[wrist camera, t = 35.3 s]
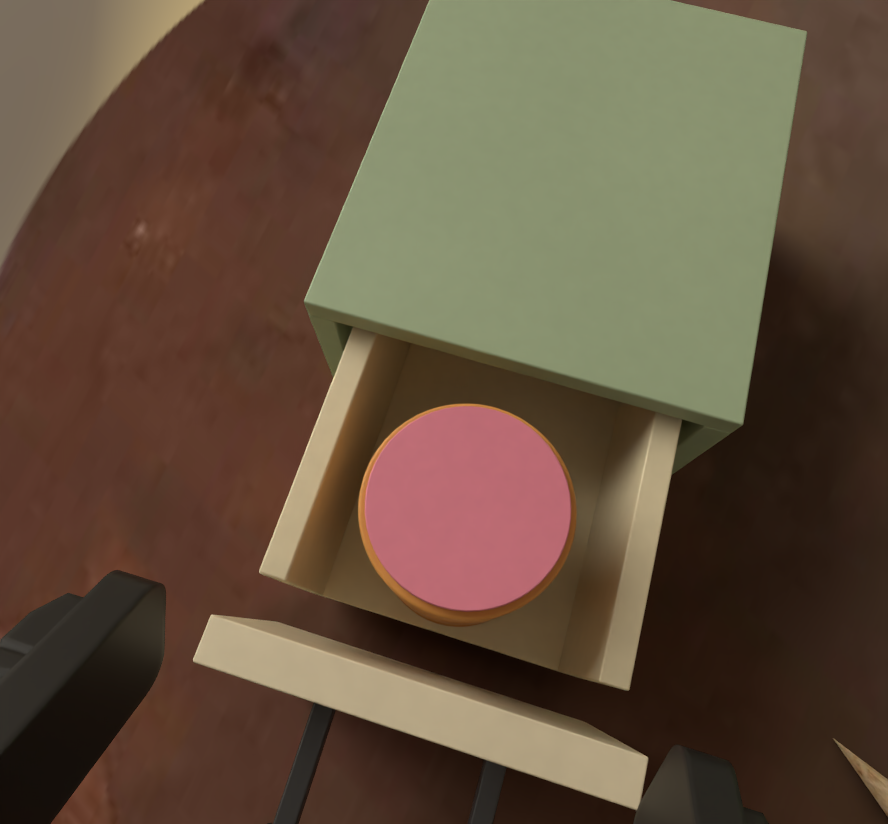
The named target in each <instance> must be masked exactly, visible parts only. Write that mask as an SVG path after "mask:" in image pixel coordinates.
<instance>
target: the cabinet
mask: <svg viewBox="0 0 888 824" xmlns="http://www.w3.org/2000/svg"><path fill="white" fill-rule="evenodd" d="M806 37H807V32H806V31H802V30H798V29H794V28H789V27H785V26H780V25H776V24H772V23H767V22H763V21H758V20H754V19H750V18H745V17H741V16H737V15H732V14H728V13H723V12H719V11H715V10H710V9H706V8H701V7H697V6H693V5H688V4H684V3H680V2H675V1H671V0H429V3H428V5H427V8H426V10H425V12H424V15H423V17H422V20H421V22H420V24H419V27H418V29H417V31H416V34H415V36H414V39H413V41H412V43H411V46H410V48H409V51H408V53H407V55H406V58H405V60H404V63H403V65H402V67H401V70H400V72H399V75H398V77H397V79H396V82H395V84H394V87H393V89H392V91H391V94H390V96H389V99H388V101H387V103H386V106H385V108H384V111H383V113H382V115H381V118H380V120H379V122H378V125H377V127H376V130H375V132H374V134H373V137H372V139H371V142H370V144H369V146H368V149H367V151H366V154H365V156H364V158H363V161H362V163H361V166H360V168H359V170H358V173H357V175H356V178H355V180H354V182H353V185H352V187H351V190H350V192H349V194H348V197H347V199H346V202H345V204H344V206H343V209H342V211H341V213H340V216H339V218H338V221H337V223H336V225H335V228H334V230H333V233H332V235H331V237H330V240H329V242H328V245H327V247H326V249H325V252H324V254H323V257H322V259H321V261H320V264H319V266H318V269H317V271H316V273H315V276H314V278H313V281H312V283H311V285H310V288H309V290H308V293H307V295H306V297H305V300H304V304H305V306H306V309H307V311H308V313H309V317H310V320H311V322H312V325H313V327H314V330H315V332H316V335H317V337H318V340H319V342H320V345H321V347H322V350H323V352H324V355H325V358H326V360H327V363H328V365H329V368H330V370H331V373H332V375H333V378H334V375H335V372H336V370H337V367H338V365H339V362H340V360H341V357H342V354H343V352H344V349H345V347H346V344H347V341H348V339H349V336H350V334H351V331H352V328H353V327H356V328H360V329H363V330H367V331H370V332H374V333H378V334H381V335H385V336H388V337H392V338H395V339H399V340H402V341H406V342H409V343H413V344H417V345H420V346H424V347H427V348H431V349H434V350H438V351H441V352H445V353H448V354H452V355H456V356H459V357H463V358H466V359H470V360H473V361H477V362H480V363H484V364H488V365H491V366H495V367H498V368H502V369H505V370H509V371H512V372H516V373H519V374H523V375H527V376H530V377H534V378H537V379H541V380H544V381H548V382H551V383H555V384H558V385H562V386H566V387H569V388H573V389H576V390H580V391H583V392H587V393H590V394H594V395H598V396H601V397H605V398H608V399H612V400H615V401H619V402H622V403H626V404H629V405H633V406H637V407H640V408H644V409H647V410H651V411H654V412H658V413H661V414H665V415H668V416H672V417H676V418H679V419H682V423H681V428H680V434H679V439H678V444H677V449H676V454H675V459H674V464H673V469H672V474H674V473H675V472H676V471H678V470H679V469H681V468H682V467H684V466H685V465H686V464H688V463H689V462H691V461H692V460H694V459H695V458H696V457H698V456H699V455H701V454H702V453H704V452H705V451H706V450H708V449H709V448H711V447H712V446H714V445H715V444H716V443H718V442H719V441H721V440H722V439H723V438H725V437H726V436H728V435H729V434H730V433H732V432H734V431H735V430H736V429H738V428H739V427H741V426H742V425H743V423H744V417H745V410H746V404H747V398H748V392H749V386H750V380H751V374H752V368H753V362H754V355H755V349H756V343H757V337H758V331H759V325H760V319H761V313H762V306H763V300H764V294H765V288H766V282H767V276H768V270H769V264H770V258H771V251H772V245H773V239H774V233H775V227H776V221H777V215H778V209H779V202H780V196H781V190H782V184H783V178H784V172H785V166H786V160H787V154H788V147H789V141H790V135H791V129H792V123H793V117H794V111H795V105H796V98H797V92H798V86H799V80H800V74H801V68H802V62H803V56H804V50H805V43H806Z"/></svg>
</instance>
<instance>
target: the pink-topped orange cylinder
mask: <svg viewBox="0 0 888 824" xmlns="http://www.w3.org/2000/svg"><path fill="white" fill-rule="evenodd" d="M576 517H577V508H576V498H575V492H574V488H573V484H572V480H571V478H570V475H569V473H568V470H567V468H566V466H565V464H564V462H563V460H562V458H561V456H560V455H559V454H558V452H557V451H556V449H555V448H554V446H553V445H552V444H551V443H550V442H549V441H548V440H547V438H546V437H545V436H544V435H543V434H542V433H540V432H539V431H538V430H537V429H536V428H535V427H533V426H532V425H531V424H529V423H528V422H526V421H525V420H523V419H522V418H520V417H518V416H516V415H514V414H512V413H510V412H507V411H504V410H501V409H498V408H495V407H491V406H486V405H480V404H452V405H446V406H441V407H437V408H434V409H430V410H428V411H425V412H423V413H421V414H418V415H416V416H414V417H413V418H411V419H409V420H408V421H406V422H404V423H403V424H402V425H400V426H399V427H398V428H397V429H395V430H394V431H393V432H392V433H391V434H390V435H389V436H388V437H387V438H386V439H385V440H384V441H383V443H382V444H381V445H380V447H379V448H378V449H377V450H376V452H375V454H374V455H373V457H372V459H371V461H370V462H369V465H368V467H367V469H366V472H365V474H364V477H363V480H362V484H361V488H360V494H359V501H358V520H359V528H360V534H361V537H362V541H363V545H364V548H365V550H366V552H367V555H368V557H369V559H370V561H371V563H372V565H373V566H374V568H375V570H376V572H377V573H378V574H379V575H380V577H381V578H382V579H383V581H384V582H385V583H386V584H387V585H388V587H389V588H390V589H391V590H392V591H393V592H394V593H395V594H396V595H397V596H398V598H399V599H400V600H401V601H402V602H403V603H404V604H405V605H406V606H407V607H408V608H409V609H411V610H412V611H413V612H415V613H416V614H417V615H419V616H421V617H423V618H424V619H426V620H429V621H431V622H434V623H436V624H440V625H445V626H453V627H466V626H472V625H477V624H480V623H484V622H487V621H489V620H492V619H495V618H497V617H500V616H503V615H506V614H508V613H511V612H513V611H515V610H517V609H519V608H521V607H523V606H525V605H526V604H528V603H529V602H531V601H532V600H534V599H535V598H536V597H537V596H538V595H540V594H541V593H542V592H543V591H544V590H545V589H546V588H547V587H548V586H549V585H550V584H551V582H552V581H553V580H554V579H555V578H556V576H557V575H558V573H559V572H560V570H561V568H562V567H563V565H564V563H565V561H566V559H567V557H568V555H569V552H570V549H571V546H572V543H573V540H574V535H575V529H576Z"/></svg>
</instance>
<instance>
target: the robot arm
mask: <svg viewBox="0 0 888 824" xmlns="http://www.w3.org/2000/svg"><path fill="white" fill-rule="evenodd" d="M165 608H166V590H165V587H164V585H163V584H161V583H158V582H155V581H152V580H148V579H145V578H142V577H139V576H136V575H133V574H129V573H126V572H123V571H120V570H115V571H112V572H110V573H109V574H107V575H106V576H105V577H104V578H103V579H102V580H101V581H100V582H99V583H98V584H97V585H96V586H95V587H94V588H93V589H92V590H91V591H90V592H89V593H88V594H87V595H86V596H85V597H84V598H83V597H80V596H77V595H73V594H70V593H67V594H65V595H63V596H61V597H59V598H57V599H55V600H53V601H51V602H49V603H47V604H46V605H44V606H42V607H40V608H38V609H36V610H34V611H32V612H30V613H29V614H28V615H27V616H26V617H25V618H24V619H22V620H21V621H20V622H19V623H18V624H17V625H16V626H15V627H14V628H13V629H12V630H10V631H9V632H8V633H7V634H6V635H5V636H4V637H3V638H2V639H1V641H0V824H51V822H52V821H53V820H54V818H55V817H56V815H57V814H58V813H59V811H60V810H61V809H62V807H63V806H64V805H65V803H66V802H67V801H68V799H69V798H70V797H71V795H72V794H73V793H74V791H75V790H76V789H77V787H78V786H79V785H80V783H81V782H82V780H83V779H84V778H85V776H86V775H87V774H88V772H89V771H90V770H91V768H92V767H93V766H94V764H95V763H96V762H97V760H98V759H99V758H100V756H101V755H102V754H103V752H104V751H105V750H106V748H107V747H108V745H109V744H110V743H111V741H112V740H113V739H114V737H115V736H116V735H117V733H118V732H119V731H120V729H121V728H122V727H123V725H124V724H125V723H126V721H127V720H128V719H129V717H130V716H131V715H132V713H133V712H134V711H135V709H136V708H137V706H138V705H139V704H140V702H141V701H142V700H143V698H144V697H145V696H146V694H147V693H148V691H149V690H150V688H151V687H152V685H153V683H154V681H155V679H156V677H157V675H158V672H159V670H160V667H161V664H162V661H163V656H164V644H165ZM633 824H769V823H768V822H767V820H766V818H765V817H764V815H763V813H760V812H757V811H754V810H751V809H748V808H745V807H743V805H742V800H741V796H740V791H739V787H738V782H737V778H736V774H735V770H734V768H733V766H732V764H731V763H730V762H729V761H728V760H725V759H722V758H719V757H716V756H712V755H709V754H706V753H703V752H700V751H697V750H693V749H690V748H687V747H684V746H681V745H674V746H673V747H672V748H671V749H670V751H669V752H668V754H667V756H666V757H665V759H664V761H663V763H662V765H661V766H660V768H659V770H658V772H657V773H656V775H655V777H654V779H653V780H652V782H651V784H650V786H649V788H648V789H647V791H646V793H645V795H644V796H643V798H642V800H641V802H640V804H639V806H638V808H637V811H636V815H635V819H634V823H633Z"/></svg>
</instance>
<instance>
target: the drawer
mask: <svg viewBox="0 0 888 824" xmlns="http://www.w3.org/2000/svg"><path fill="white" fill-rule="evenodd" d="M452 404H480V405H486V406H491V407H495V408H498V409H501V410H504V411H507V412H510V413H512V414H514V415H516V416H518V417H520V418H522V419H523V420H525V421H526V422H528V423H529V424H531V425H532V426H533V427H535V428H536V429H537V430H538V431H539V432H540V433H542V434H543V435H544V436H545V437H546V438H547V440H548V441H549V442H550V443H551V444H552V445H553V446H554V448H555V449H556V451H557V452H558V454H559V455H560V456H561V458H562V460H563V462H564V464H565V466H566V468H567V470H568V473H569V475H570V478H571V480H572V484H573V488H574V492H575V498H576V508H577V517H576V529H575V535H574V540H573V543H572V546H571V549H570V552H569V555H568V557H567V559H566V561H565V563H564V565H563V567H562V568H561V570H560V572H559V573H558V575H557V576H556V578H555V579H554V580H553V581H552V582H551V584H550V585H549V586H548V587H547V588H546V589H545V590H544V591H543V592H542V593H541V594H540V595H538V596H537V597H536V598H535V599H534V600H532V601H531V602H529V603H528V604H526V605H525V606H523V607H521V608H519V609H517V610H515V611H513V612H511V613H508V614H506V615H503V616H500V617H497V618H495V619H492V620H489V621H487V622H484V623H480V624H477V625H472V626H466V627H453V626H445V625H440V624H436V623H434V622H431V621H429V620H426V619H424V618H423V617H421V616H419V615H417V614H416V613H415V612H413V611H412V610H411V609H409V608H408V607H407V606H406V605H405V604H404V603H403V602H402V601H401V600H400V599H399V598H398V596H397V595H396V594H395V593H394V592H393V591H392V590H391V589H390V588H389V587H388V585H387V584H386V583H385V582H384V581H383V579H382V578H381V577H380V575H379V574H378V573H377V572H376V570H375V568H374V566H373V565H372V563H371V561H370V559H369V557H368V555H367V552H366V550H365V548H364V545H363V541H362V537H361V534H360V528H359V520H358V501H359V494H360V488H361V484H362V480H363V477H364V474H365V472H366V469H367V467H368V465H369V462H370V461H371V459H372V457H373V455H374V454H375V452H376V450H377V449H378V448H379V447H380V445H381V444H382V443H383V441H384V440H385V439H386V438H387V437H388V436H389V435H390V434H391V433H392V432H393V431H394V430H395V429H397V428H398V427H399V426H400V425H402V424H403V423H404V422H406V421H408V420H409V419H411V418H413V417H414V416H416V415H418V414H421V413H423V412H425V411H428V410H430V409H434V408H437V407H441V406H446V405H452ZM681 423H682V419H679V418H676V417H672V416H668V415H665V414H661V413H658V412H654V411H651V410H647V409H644V408H640V407H637V406H633V405H629V404H626V403H622V402H619V401H615V400H612V399H608V398H605V397H601V396H598V395H594V394H590V393H587V392H583V391H580V390H576V389H573V388H569V387H566V386H562V385H558V384H555V383H551V382H548V381H544V380H541V379H537V378H534V377H530V376H527V375H523V374H519V373H516V372H512V371H509V370H505V369H502V368H498V367H495V366H491V365H488V364H484V363H480V362H477V361H473V360H470V359H466V358H463V357H459V356H456V355H452V354H448V353H445V352H441V351H438V350H434V349H431V348H427V347H424V346H420V345H417V344H413V343H409V342H406V341H402V340H399V339H395V338H392V337H388V336H385V335H381V334H378V333H374V332H370V331H367V330H363V329H360V328H356V327H353V328H352V331H351V334H350V336H349V339H348V341H347V344H346V347H345V349H344V352H343V354H342V357H341V360H340V362H339V365H338V367H337V370H336V372H335V375H334V378H333V380H332V383H331V385H330V388H329V391H328V393H327V396H326V398H325V401H324V404H323V406H322V409H321V411H320V414H319V417H318V419H317V422H316V424H315V427H314V430H313V432H312V435H311V437H310V440H309V443H308V445H307V448H306V450H305V453H304V456H303V458H302V461H301V463H300V466H299V469H298V471H297V474H296V476H295V479H294V482H293V484H292V487H291V489H290V492H289V495H288V497H287V500H286V502H285V505H284V508H283V510H282V513H281V515H280V518H279V521H278V523H277V526H276V528H275V531H274V534H273V536H272V539H271V541H270V544H269V547H268V549H267V552H266V554H265V557H264V560H263V562H262V565H261V567H260V570H259V573H260V574H262V575H265V576H267V577H270V578H273V579H276V580H278V581H281V582H284V583H286V584H289V585H292V586H294V587H297V588H300V589H302V590H305V591H308V592H311V593H314V594H317V595H320V596H323V597H326V598H330V599H333V600H336V601H339V602H342V603H345V604H348V605H351V606H355V607H358V608H361V609H364V610H367V611H370V612H373V613H376V614H380V615H383V616H386V617H389V618H392V619H395V620H398V621H402V622H405V623H408V624H411V625H414V626H417V627H420V628H423V629H427V630H430V631H433V632H436V633H439V634H442V635H445V636H448V637H452V638H455V639H458V640H461V641H464V642H467V643H470V644H474V645H477V646H480V647H483V648H486V649H489V650H492V651H495V652H499V653H502V654H505V655H508V656H511V657H514V658H517V659H520V660H524V661H527V662H530V663H533V664H536V665H539V666H542V667H545V668H549V669H552V670H555V671H558V672H561V673H564V674H567V675H571V676H574V677H577V678H581V679H585V680H588V681H592V682H596V683H600V684H603V685H607V686H611V687H614V688H618V689H622V690H626V691H629V689H630V684H631V679H632V674H633V669H634V664H635V659H636V654H637V648H638V643H639V638H640V633H641V628H642V623H643V618H644V613H645V607H646V602H647V597H648V592H649V587H650V582H651V577H652V572H653V567H654V561H655V556H656V551H657V546H658V541H659V536H660V531H661V526H662V521H663V515H664V510H665V505H666V500H667V495H668V490H669V485H670V480H671V475H672V469H673V464H674V459H675V454H676V449H677V444H678V439H679V434H680V428H681ZM193 662H194V663H197V664H200V665H203V666H206V667H209V668H212V669H215V670H218V671H221V672H224V673H227V674H230V675H233V676H236V677H239V678H242V679H245V680H248V681H251V682H254V683H257V684H260V685H263V686H266V687H269V688H272V689H275V690H278V691H281V692H284V693H287V694H290V695H293V696H296V697H299V698H302V699H305V700H308V701H311V702H314V704H313V707H312V709H311V712H310V715H309V718H308V721H307V724H306V727H305V730H304V733H303V736H302V739H301V742H300V745H299V748H298V751H297V754H296V757H295V760H294V763H293V766H292V769H291V772H290V775H289V778H288V781H287V784H286V787H285V790H284V793H283V795H282V798H281V801H280V804H279V807H278V810H277V813H276V816H275V819H274V822H273V824H299V821H300V818H301V815H302V811H303V808H304V805H305V802H306V799H307V796H308V793H309V790H310V787H311V784H312V781H313V778H314V775H315V772H316V769H317V765H318V762H319V759H320V756H321V753H322V750H323V747H324V744H325V741H326V738H327V735H328V732H329V729H330V726H331V723H332V720H333V716H334V713H335V710H338V711H341V712H344V713H347V714H350V715H353V716H356V717H359V718H362V719H365V720H368V721H371V722H374V723H377V724H380V725H383V726H386V727H389V728H392V729H395V730H398V731H401V732H404V733H407V734H410V735H413V736H416V737H419V738H422V739H425V740H428V741H430V742H433V743H436V744H439V745H442V746H445V747H448V748H451V749H454V750H457V751H460V752H463V753H466V754H469V755H472V756H475V757H478V758H481V759H484V760H483V764H482V768H481V772H480V776H479V780H478V784H477V788H476V792H475V796H474V800H473V804H472V808H471V812H470V816H469V820H468V824H493V821H494V817H495V813H496V809H497V805H498V801H499V797H500V792H501V788H502V784H503V780H504V776H505V772H506V768H507V767H508V768H511V769H514V770H517V771H520V772H523V773H526V774H529V775H532V776H535V777H538V778H541V779H544V780H547V781H550V782H553V783H556V784H559V785H562V786H565V787H568V788H571V789H574V790H577V791H580V792H583V793H586V794H589V795H592V796H595V797H598V798H601V799H604V800H607V801H610V802H613V803H616V804H619V805H622V806H625V807H628V808H631V809H634V810H637V808H638V806H639V804H640V802H641V797H642V792H643V786H644V781H645V775H646V770H647V764H648V757H647V756H645V755H643V754H642V753H640V752H638V751H636V750H634V749H633V748H631V747H629V746H627V745H625V744H624V743H622V742H620V741H618V740H616V739H615V738H613V737H611V736H609V735H607V734H606V733H604V732H602V731H600V730H598V729H597V728H595V727H593V726H591V725H589V724H588V723H586V722H584V721H581V720H578V719H575V718H572V717H568V716H565V715H562V714H559V713H556V712H553V711H550V710H547V709H544V708H541V707H538V706H535V705H532V704H528V703H525V702H522V701H519V700H516V699H513V698H510V697H507V696H504V695H501V694H498V693H495V692H492V691H488V690H485V689H482V688H479V687H476V686H473V685H470V684H467V683H464V682H461V681H458V680H455V679H452V678H448V677H445V676H442V675H439V674H436V673H433V672H430V671H427V670H424V669H421V668H418V667H415V666H412V665H408V664H405V663H402V662H399V661H396V660H393V659H390V658H387V657H384V656H381V655H378V654H375V653H372V652H368V651H365V650H362V649H359V648H356V647H353V646H350V645H347V644H344V643H341V642H338V641H335V640H332V639H328V638H325V637H322V636H319V635H316V634H313V633H310V632H307V631H304V630H301V629H298V628H295V627H292V626H288V625H285V624H282V623H279V622H274V621H265V620H256V619H248V618H239V617H230V616H221V615H211V616H210V619H209V621H208V624H207V626H206V629H205V631H204V634H203V636H202V639H201V641H200V644H199V646H198V649H197V651H196V654H195V656H194V659H193ZM268 824H272V823H268Z"/></svg>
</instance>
